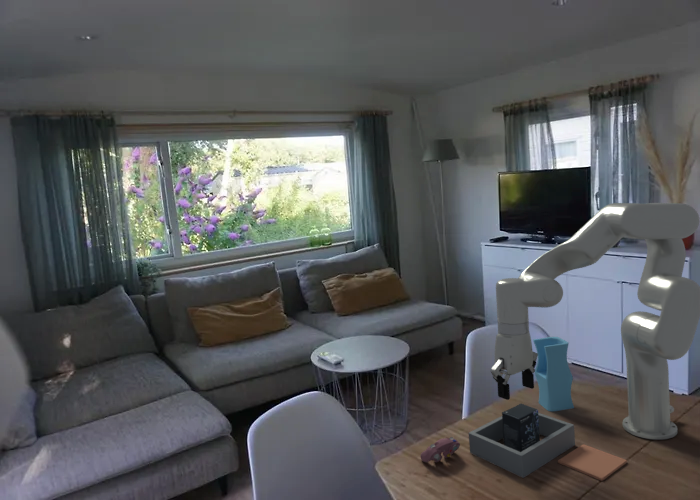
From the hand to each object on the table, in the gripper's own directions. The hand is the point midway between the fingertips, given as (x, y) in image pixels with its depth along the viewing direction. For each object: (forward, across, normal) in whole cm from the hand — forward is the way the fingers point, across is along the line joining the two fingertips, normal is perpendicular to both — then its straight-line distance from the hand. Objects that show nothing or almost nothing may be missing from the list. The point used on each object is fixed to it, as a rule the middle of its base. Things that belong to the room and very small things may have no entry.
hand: (516, 392), depth 131 cm
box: (+16, -1, 0) cm, 16 cm away
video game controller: (+16, +17, -11) cm, 26 cm away
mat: (+15, -7, +16) cm, 23 cm away
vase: (+15, -29, -9) cm, 34 cm away
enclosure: (+15, -1, 0) cm, 15 cm away
